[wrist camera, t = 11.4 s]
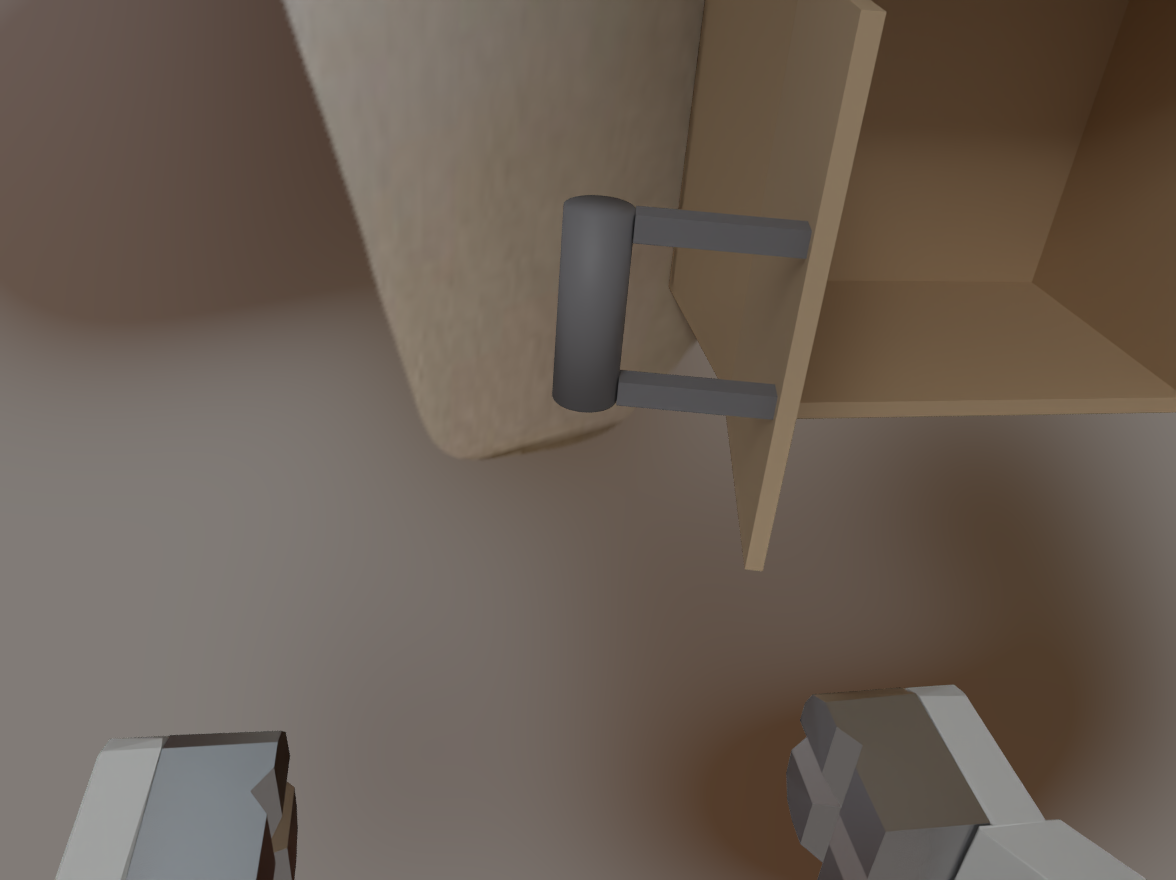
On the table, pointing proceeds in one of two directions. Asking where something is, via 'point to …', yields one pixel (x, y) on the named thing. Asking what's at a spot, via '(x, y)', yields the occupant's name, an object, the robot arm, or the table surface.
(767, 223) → the flap
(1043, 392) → the carton
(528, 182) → the table surface
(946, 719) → the robot arm
